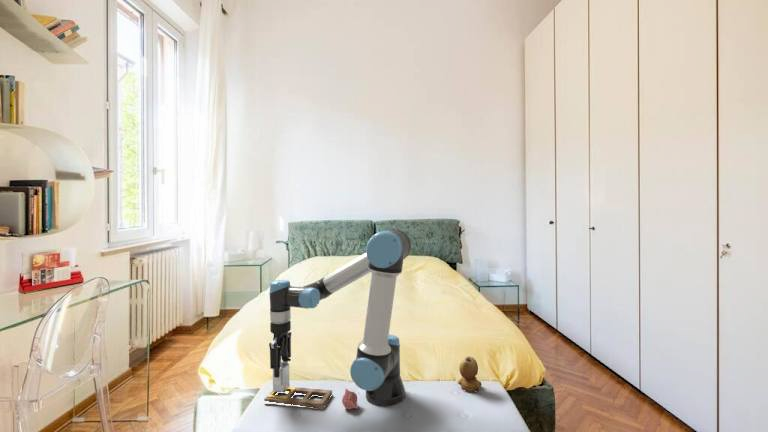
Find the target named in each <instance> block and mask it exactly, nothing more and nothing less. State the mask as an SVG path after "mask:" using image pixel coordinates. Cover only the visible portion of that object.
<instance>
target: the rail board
mask: <svg viewBox="0 0 768 432" xmlns="http://www.w3.org/2000/svg"><path fill="white" fill-rule="evenodd" d="M286 391H289V393H288V394H287V395H286V394H285V395H275V394H276V393H277V392H274V391H273V390H272V391H270V392H269V393H268V395H266V396H265V398H264V400H263V402H264V401H269V402H276V403H284V404H291V405H292V404H293V405H300V406H306V407H313V408H318V409H317V410H324V408H325V407H326V406H327V404H328V402H329V401H330V399H331V398H330V396H331V395H332V396H333V390H332V389H323V388H322V389H320V388H319V389H318V388H310V387H308V388H306V387H295V386H290V387H289V388H288V389H287V390H286ZM295 392H296V393H302V394H306V395H305V396H303V397H302V398H296V397H294V398H291V397H292V396H293V395H294V393H295ZM312 395H318V396H323V398H321V399H309V398H310V397H311V396H312ZM332 396H331V397H332ZM329 398H330V399H329ZM328 400H329V401H328ZM327 401H328V402H327ZM326 403H327V404H326ZM324 406H325V407H324Z"/></svg>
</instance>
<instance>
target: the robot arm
mask: <svg viewBox="0 0 768 432" xmlns="http://www.w3.org/2000/svg"><path fill="white" fill-rule="evenodd" d="M411 250H412V242H411V238H410V237H409V235H408V234H407V233H406V232H404V231H402V230H399V229H389V230H381V231H378V232H377V233H374V234H373V235H372V236H371V237H370V238H369V240H368V242H367V243H366V247H365V252H364V253H363V254H361V255H359V256H357V257H355V258H354V259H352V260H351V261H348V263H345V264H344V265H343V266H341V267H339V268H337V269H335V270H334V271H332V272H331V273H329V274H327V275H326V276H324V277H321V278H320V279H319V280H317V281H315V282H313V283H309V284H306V285H304V286H292V285H291V281H290V280H287V279H277V280H273V281H271V282H270V283H269V303H270V304H269V306H270V308H269V315H270V317H269V319H270V320H269V321H270V323H269V324H270V330H269V331H270V333H271V334H272V335H273V338H272V342H269V343H268V346H269V362H270V363H269V367H270V370H271V369H272V370H273V369H274V385H280V386H281V385H282V367H280V365H281V363H288V364H289V362H291V359H292V331H291V329H292V327H291V322H292V321H291V319H292V318H291V317H292V316H291V308H300V309H307V310H308V309H315V308H316V307H318V305H319V304H320V301H322V300H324V299H327V298H329V297H330V296H331V295H333V294H334V293H336V292H338V291H340V290H342V289H343V288H345V287H347V286H348V285H350V284H352V283H354V282H356V281H358V280H359V279H361V278H363V277H364V276H366V275H368V274H370V273H371V278H370V286H369V293H368V300H367V307H366V317H365V324H364V330H363V339H362V340H361V341H359V342H358V345H357V348H356V349H357V351H356V357H355V359H354V360H353V361H352V363H351V366H350V368H349V369H350V370H349V373H350V377H351V380H352V381H353V382H354V383H355V385H356V387H358V388H359V389H361V390H363V391H365V398H366V400H367V401H368V402H369V403H371V404H373V405H376V406H381V407H388V406H389V407H390V406H394V405H397V404H400V403H402V401H404V400H405V397H406V388H405V386H404V385H405V384H404V382H403V380H402V377H401V357H400V356H401V349H400V347H401V344H400V338H399V337H398V336H396V335H394V334H390V329H391V328H390V327H391V321H392V320H391V319H392V314H393V313H392V311H393V305H394V298H395V293H396V292H395V291H396V283H397V277H398V276H400V275H401V274H402V272H403V266H404V265H403V264H404V260H405V259H406V258H408V256H409V254H410V253H411Z"/></svg>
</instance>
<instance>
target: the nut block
mask: <svg viewBox="0 0 768 432" xmlns="http://www.w3.org/2000/svg"><path fill="white" fill-rule="evenodd" d="M280 367H282V385H281V386H280V385H274V369H272V391H274V392H285V391H286V390H287V389H288V388H289V387H291V386H290V363H289V362H288V363H281V365H280Z"/></svg>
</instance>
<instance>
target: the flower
mask: <svg viewBox="0 0 768 432" xmlns="http://www.w3.org/2000/svg"><path fill="white" fill-rule="evenodd" d="M342 396H343V397H342V399H341V401H342V402H341V403H342V405H343V407H344V408H345V409H348V410H352V409H359V406H358V395H357V393H356V392H355V391H349V389H347V388H345V391H344V395H342Z"/></svg>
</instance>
